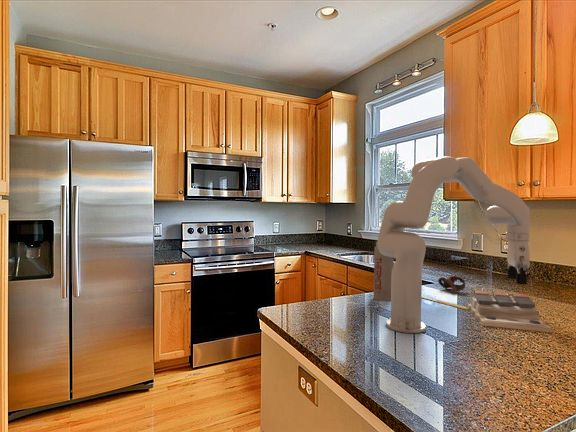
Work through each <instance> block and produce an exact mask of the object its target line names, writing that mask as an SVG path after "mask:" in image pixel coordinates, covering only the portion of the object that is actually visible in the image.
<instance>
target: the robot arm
mask: <svg viewBox="0 0 576 432" xmlns="http://www.w3.org/2000/svg"><path fill="white" fill-rule="evenodd" d="M411 177H412V179H411V181H410V183H409V185H408V189H407V192H406V195H405V198H404V200H398V201H397V200H396V201H394V202H392V203H390V204H389V205H388V206H387V208H386V209H385V211H384V212H383V213H384V214H383V217H382V221H381V224H380V228H379V233H378V235H379V236H378V237H377V242H378V243H377V244H378V249H379V251H380V253H381V254H383V255H384V256H387V257H390V258H393V259H394V260H395V262H394V263H393V269H392V275H391V300H390V318H388V319H386V320H385V325H386V327H387V328H388V329H391V330H393V331H395V332H399V333H404V334H419V333H420V334H421V333H423V332H425V331H426V330H427V325H426V324H425V323H424V322H422V298H421V296H422V290H423V289H422V287H423V286H422V282H423V281H422V279H423V278H422V277H423V265H424V260H425V255H426V248H427V246H426V242H425V240H424V239H423V237H422V236H421V235H419V234H417V233H415V232H411V231H405V229H408V230H420V229H424V228H425V226H426V225H427V223H428V220H429V218H430V213H431V211H432V205H433V200H434V198H435V194H436V191H437V189H439V187H441V185H442V184H443V183H445V184H446V183H447V184H448V183H455V182H456V183H458V184H459V185H460V186H461V187H462V188H463V189H464V190H465V192H466V193H467V194H468V195H469V196H470V197H471V198H472V199H473V200H475V201H478V202H482V203H484V204H489V205H491V206H489V207H488V208H487V209H486V210H485V219H486V220H487V221H488V222H489V223H491V224H492V225H501V226H505V241H507V247H506V249H507V250H506V252H507V254H506V260H507V278H508V279H511V280H512V279H513V280H516V284H517V285H527V284H528V268H530V266H531V265H530V264H531V262H530V247H529V242H530V222H531V221H530V220H531V219H530V217H531V213H530V212H531V211H530V207H529V206H528V205H526V203H525V202H524V201H523V199H522V198H521V197H520V196H519V195H517V194H516V193H514V192H513V191H511V190H510V189H508V188H506V187H503V186H501V185H498V184H496V183H494V182H493V181H492V180H491V178H489V176H488V175H487V174H486V173H485V172H484V170H483V169H482V167H481V166H479V164H478V163H477V162H476V161H475V160H474V159H473V158H471V157H457V158H455V157H452V156H449V155H447V156H442V157H435V158H431V159H424V160H420V161H417V162H416V163H415V164H414V165H413V166H412V169H411Z"/></svg>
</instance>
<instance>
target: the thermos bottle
mask: <svg viewBox="0 0 576 432" xmlns="http://www.w3.org/2000/svg"><path fill="white" fill-rule="evenodd" d="M378 236H379V234H378ZM377 243H378V241H376V242H375V246H374V249H373V250H374V251H373V252H374V255H373V258H374V259H373V272H374V273H373V275H374V276H373V299H375V300H378V301H381V302H382V301H384V302H385V301H386V302H387V301H389V302H390V301H391V275H392V269H393V266H394V258H390V257H387V256H384V255H383V254H381V253H380V251H379V249H378V244H377Z"/></svg>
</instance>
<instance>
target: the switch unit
mask: <svg viewBox="0 0 576 432" xmlns="http://www.w3.org/2000/svg"><path fill="white" fill-rule="evenodd" d="M470 300H471V301H470V303H468V304H467V308H469V311H470V312H471V314H472V315H473V316H474V317H475V319H476V320H477V321H478V323H479V324H480V325H481V326H483V327H485V326H486V327H494V328H502V329H504V328H505V329H513V330H522V331H524V330H525V331H534V332H545V333H552V329H553V328H552V326H550V325H549V324H548V323H546V322H544V320H542V319H540V311H539V310H537V309H536V308H530V307H519V306H518V304H517V303H516V301H515V300H514V299H512V301H513V302H514V306H506V305H498V303H497V302H496V300H495V298H492V300H493V301H494V302H493V304H482V303H478V301H477V299H476V297H475V296H474V297H473V296H471V299H470Z"/></svg>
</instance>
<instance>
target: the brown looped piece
mask: <svg viewBox="0 0 576 432" xmlns="http://www.w3.org/2000/svg"><path fill="white" fill-rule="evenodd" d="M458 280H459V282H460V283H462V284H455V282H457V281H458ZM437 282H438V284H439V285H440V286H441V287H442V288H443V289H445V290H447V289H450V292H451V293H452V294H455V293H456V292H461V291H464V289H465V288H466V282H465V280H464V279H463V278H462V277H460V276H457V275H450V276H449V277H448V278H445V277H440V278H438V279H437Z"/></svg>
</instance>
